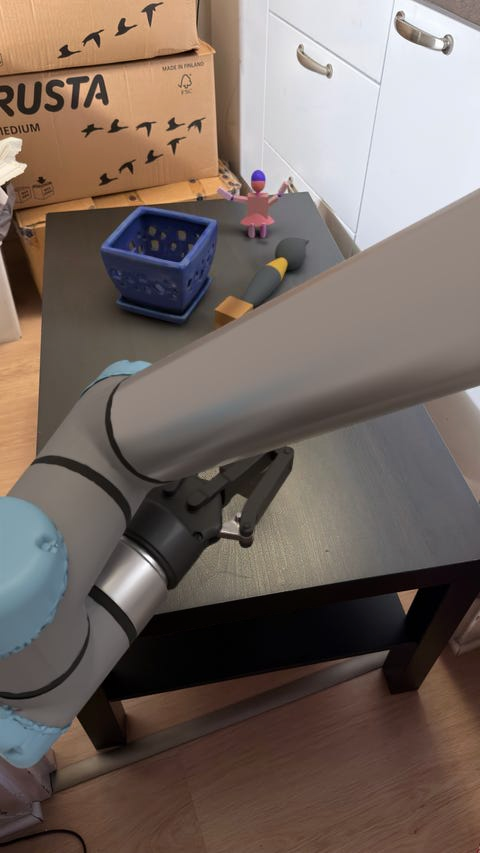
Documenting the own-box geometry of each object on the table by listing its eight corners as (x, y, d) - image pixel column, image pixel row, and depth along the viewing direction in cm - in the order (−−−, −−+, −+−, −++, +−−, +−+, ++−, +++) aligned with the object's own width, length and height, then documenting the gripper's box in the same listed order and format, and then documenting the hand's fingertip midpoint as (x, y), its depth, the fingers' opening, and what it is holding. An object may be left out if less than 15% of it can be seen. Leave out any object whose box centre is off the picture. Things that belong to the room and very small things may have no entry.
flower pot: (107, 316, 94) (94, 246, 85) (147, 269, 102) (139, 201, 93) (188, 337, 91) (184, 267, 82) (222, 287, 99) (221, 218, 90)
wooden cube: (252, 326, 92) (253, 304, 90) (237, 341, 90) (237, 319, 87) (229, 317, 94) (230, 295, 91) (214, 331, 92) (214, 309, 89)
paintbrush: (263, 322, 93) (265, 294, 89) (234, 313, 95) (234, 285, 91) (313, 257, 105) (316, 230, 101) (287, 249, 107) (289, 222, 103)
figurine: (216, 229, 111) (215, 167, 102) (283, 227, 111) (288, 166, 103) (217, 239, 108) (216, 177, 100) (285, 237, 109) (290, 176, 101)
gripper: (64, 538, 55) (214, 382, 68) (222, 638, 49) (352, 447, 62) (46, 487, 49) (213, 329, 62) (222, 594, 43) (365, 394, 57)
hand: (282, 388), depth 62 cm, fingers closed on brush, 4 cm apart
